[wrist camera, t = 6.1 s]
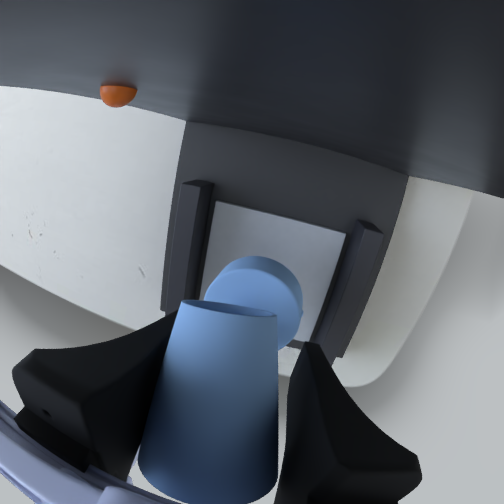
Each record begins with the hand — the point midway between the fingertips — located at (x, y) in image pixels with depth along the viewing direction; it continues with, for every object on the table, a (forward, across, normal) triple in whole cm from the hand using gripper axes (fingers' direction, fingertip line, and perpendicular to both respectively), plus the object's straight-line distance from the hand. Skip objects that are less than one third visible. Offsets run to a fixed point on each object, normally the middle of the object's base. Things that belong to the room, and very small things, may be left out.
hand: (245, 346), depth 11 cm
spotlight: (+3, 0, 0) cm, 4 cm away
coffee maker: (+9, 0, -4) cm, 9 cm away
